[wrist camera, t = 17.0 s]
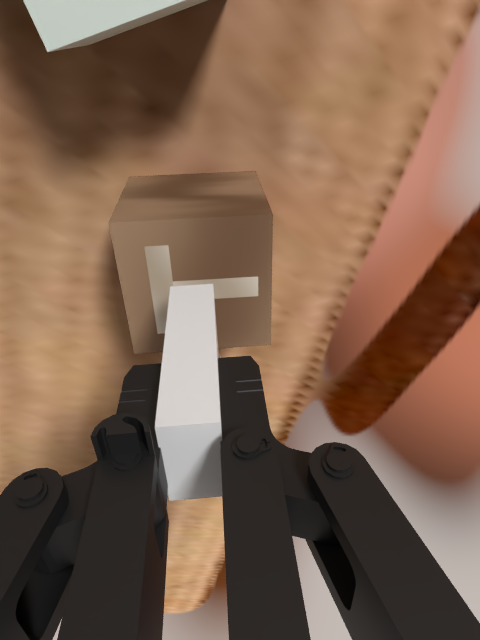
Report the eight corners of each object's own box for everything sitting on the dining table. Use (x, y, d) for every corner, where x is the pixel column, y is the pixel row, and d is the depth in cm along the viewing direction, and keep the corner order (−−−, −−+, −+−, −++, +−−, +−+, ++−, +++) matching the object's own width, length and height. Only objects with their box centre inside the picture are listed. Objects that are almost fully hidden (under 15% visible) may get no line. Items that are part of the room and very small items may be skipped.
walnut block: (270, 345, 20) (256, 280, 25) (272, 214, 16) (255, 170, 21) (134, 354, 19) (147, 286, 24) (108, 222, 16) (129, 176, 21)
